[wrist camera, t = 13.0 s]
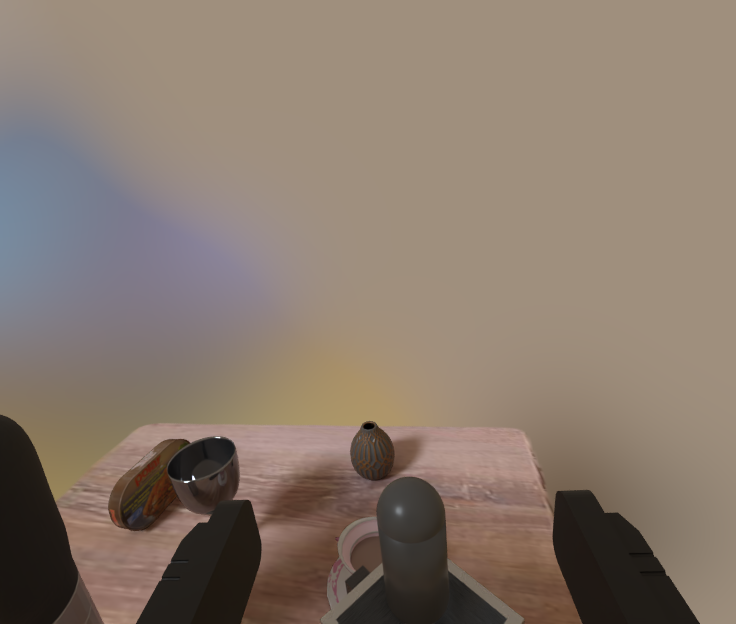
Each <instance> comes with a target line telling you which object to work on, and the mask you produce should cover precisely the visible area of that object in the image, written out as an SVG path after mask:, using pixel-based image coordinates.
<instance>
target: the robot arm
mask: <svg viewBox="0 0 736 624" xmlns="http://www.w3.org/2000/svg"><path fill="white" fill-rule="evenodd" d="M553 545H554V551H555V555H556V558H557V561H558V564H559V567H560V569H561V572H562V574H563V577H564V579H565V581H566V584H567V586H568V589H569V591H570V594H571V596H572V599H573V601H574V604H575V606H576V609H577V611H578V614H579V616H580V619H581V621H582V623H583V624H700V623H699V622H698V620H697V619H696V617H695V616H694V614H693V613H692V611H691V609H690V608H689V606H688V605H687V603H686V602H685V600H684V599H683V597H682V596H681V594H680V593H679V591H678V590H677V588H676V587H675V585H674V584H673V582H672V580H671V579H670V577H669V576H667V575H666V573H665V570H664V568H663V567H662V565H661V564H660V562H659V561H658V559H657V558H656V557H654V555H653V551H652V550H651V548H650V547H649V546H648V544H647V542H646V541H645V539H644V538H643V536H642V535H641V533H640V532H639V531H638V530H637V529H636V528H635V527H634V526H633V525H631V524H630V523H629V522H628V521H627V520H626V519H625V518H623V517H622V516H621V515H620V514H619V513H604V511H603V509H602V508H601V506H600V504H599V502H598V501H597V499H596V497H595V496H594V495H593V493H592V492H591V491H589V490H577V491H576V490H574V491H557V493H556V499H555V510H554V523H553ZM261 548H262V547H261V539H260V535H259V531H258V527H257V523H256V519H255V515H254V512H253V508H252V504H251V502H250V501H249V500H226V501H220V502H219V503H218V504H217V506H216V507H215V509H214V511H213V513H212V515H211V517H210V519H209V521H208V522H207V523H198V524H197V525H196V526H195V527H194V528H193V529H192V530H191V531H190V532H189V533H188V534H187V536H186V537H185V538H184V539H183V540H182V541H181V543H180V545H179V547H178V548H177V550H176V552H175V554H174V556H173V557H172V559H171V564H169V565H168V566H167V568H166V570H165V572H164V574H163V576H162V580H161V581H159V583H158V585H157V586H156V588H155V590H154V592H153V594H152V596H151V597H150V599H149V601H148V603H147V605H146V606H145V608H144V610H143V612H142V614H141V615H140V617H139V619H138V621H137V623H136V624H240V623H241V620H242V617H243V614H244V611H245V608H246V605H247V602H248V599H249V596H250V593H251V590H252V587H253V583H254V580H255V577H256V574H257V571H258V568H259V565H260V560H261ZM0 624H104V623H103V621H102V619H101V617H100V615H99V612H98V610H97V608H96V606H95V604H94V602H93V600H92V598H91V596H90V594H89V592H88V590H87V588H86V586H85V584H84V582H83V580H82V578H81V576H80V574H79V572H78V569H77V567H76V565H75V562H74V560H73V558H72V555H71V550H70V545H69V541H68V536H67V532H66V528H65V525H64V522H63V520H62V518H61V515H60V513H59V510H58V508H57V505H56V503H55V500H54V498H53V495H52V492H51V490H50V487H49V484H48V482H47V479H46V476H45V473H44V471H43V468H42V465H41V462H40V460H39V457H38V455H37V452H36V450H35V447H34V446H33V444H32V442H31V440H30V439H29V437H28V435H27V434H26V433H25V431H24V430H23V429H22V427H21V426H19V425H18V424H17V423H16V422H15V421H13V420H11V419H10V418H8V417H6V416H3V415H0Z"/></svg>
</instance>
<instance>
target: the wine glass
mask: <svg viewBox="0 0 736 624" xmlns="http://www.w3.org/2000/svg"><path fill="white" fill-rule="evenodd" d="M167 473H168V477H169V480H170V482H171V485H172V487H173V490H174V492H175V493H176V495H177V497H178V498H179V500H180V501H181V503H182V504H183V505H184V506H185V507H186V508H187V509H188V510H189V511H191V512H193V513H196V514H201V515H208V516H211V515H212V513H213V511H214V509H215V507H216V506H217V504H218V503H219V502H220V501H226V500H233V498H234V497H235V495H236V493H237V491H238V487H239V481H240V470H239V460H238V455H237V451H236V448H235V445H234V443H233V442H232V440H230V439H228V438H226V437H218V436H215V437H207V438H203V439H200V440H197V441H194V442H192V443H190V444H188V445H186V446H185V447H183V448H182V449H180V450H179V451H178V452H177V453H175V454H174V456H173V457H172V458H171V459H170V461H169V463H168V465H167Z"/></svg>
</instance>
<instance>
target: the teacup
mask: <svg viewBox="0 0 736 624" xmlns="http://www.w3.org/2000/svg"><path fill="white" fill-rule="evenodd" d="M335 539H336V540H337V541H338V543H337V546H338V554H339V557H338V559H337V560H336V562H335V563H334V564H333V566H332V569H331V572H330V574H329V577H328V581H327V598H328V601H329V604H330V607H331V609H332V608H333V607H334V606H335V605H336V604H337V603H339V602H340V601H341V600H342V599H343V598H344V597H345V596H346V595H347V591H346V585H345V580H347V579H348V578H349V577H350V576H351V575H352V574H353V573H354V572H356V571H357V570H358V569H359V568H360V567H361V566H362V565H363V566H364V567H365V568H366V569H367V570H368V571H369V572H370V573H371V572H372V571H374V570H375V569H376V568H377V567H378V566H379V565H380V564H381V563H382V557H381V548H380V540H379V532H378V524H377V517H366V518H362V519H359V520H356V521H354V522H353V523H351V524H350V525H348V526H347V527H346V528H345V529H344V530H343V532H342V533H341V535H340V537H336V538H335Z"/></svg>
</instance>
